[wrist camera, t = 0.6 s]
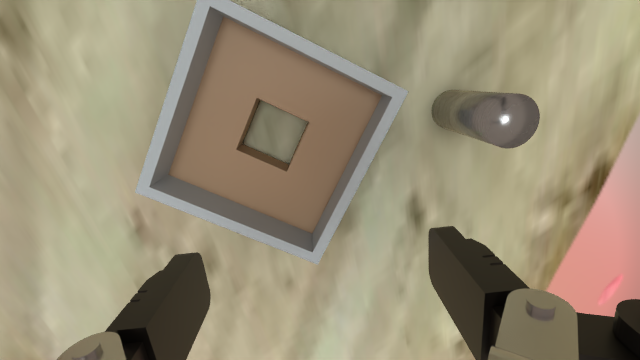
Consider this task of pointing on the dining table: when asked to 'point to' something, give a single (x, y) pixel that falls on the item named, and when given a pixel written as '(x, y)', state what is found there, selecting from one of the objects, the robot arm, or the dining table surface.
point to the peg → (488, 116)
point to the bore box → (234, 120)
